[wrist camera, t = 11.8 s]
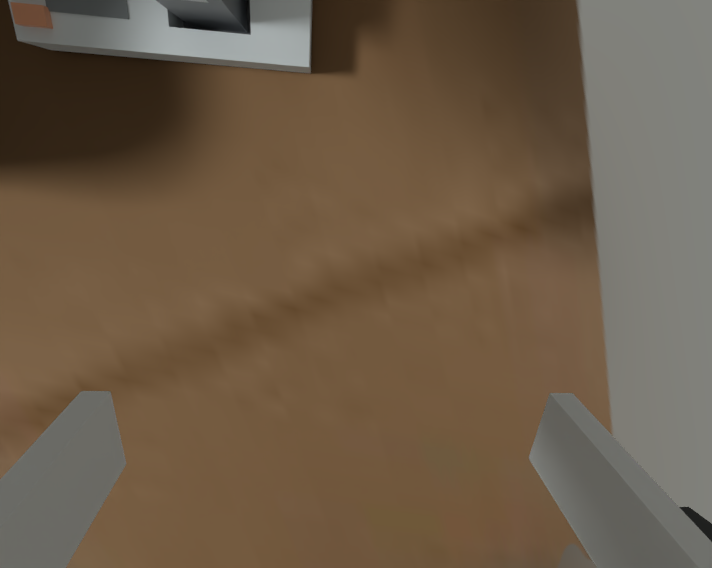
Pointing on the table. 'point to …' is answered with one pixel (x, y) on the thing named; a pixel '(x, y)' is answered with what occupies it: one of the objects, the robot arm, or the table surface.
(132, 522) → the table surface
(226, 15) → the block
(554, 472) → the robot arm
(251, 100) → the table surface
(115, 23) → the power strip
